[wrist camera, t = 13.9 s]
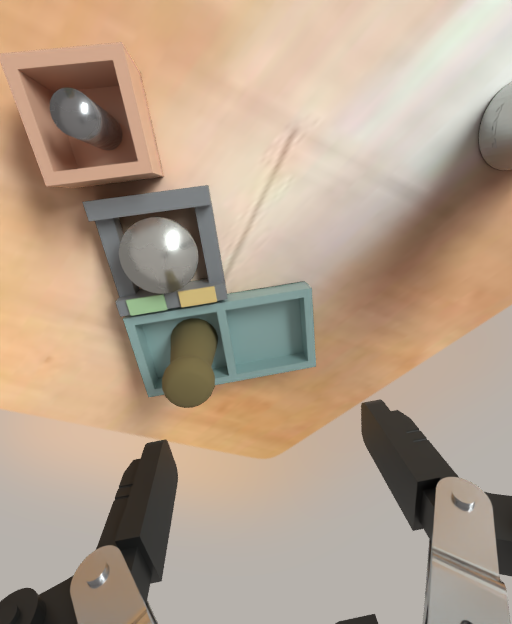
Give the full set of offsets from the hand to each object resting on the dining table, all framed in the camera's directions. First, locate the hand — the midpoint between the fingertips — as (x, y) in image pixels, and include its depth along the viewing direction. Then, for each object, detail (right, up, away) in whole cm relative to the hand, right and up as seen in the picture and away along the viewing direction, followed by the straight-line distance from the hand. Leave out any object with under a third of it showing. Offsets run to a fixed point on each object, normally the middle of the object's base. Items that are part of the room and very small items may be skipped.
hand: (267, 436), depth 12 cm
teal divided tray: (-4, +2, +27) cm, 27 cm away
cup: (-15, +23, +17) cm, 32 cm away
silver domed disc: (-11, +12, +21) cm, 26 cm away
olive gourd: (-8, +2, +26) cm, 27 cm away
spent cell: (-15, +23, +17) cm, 32 cm away
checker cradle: (-11, +12, +22) cm, 27 cm away
